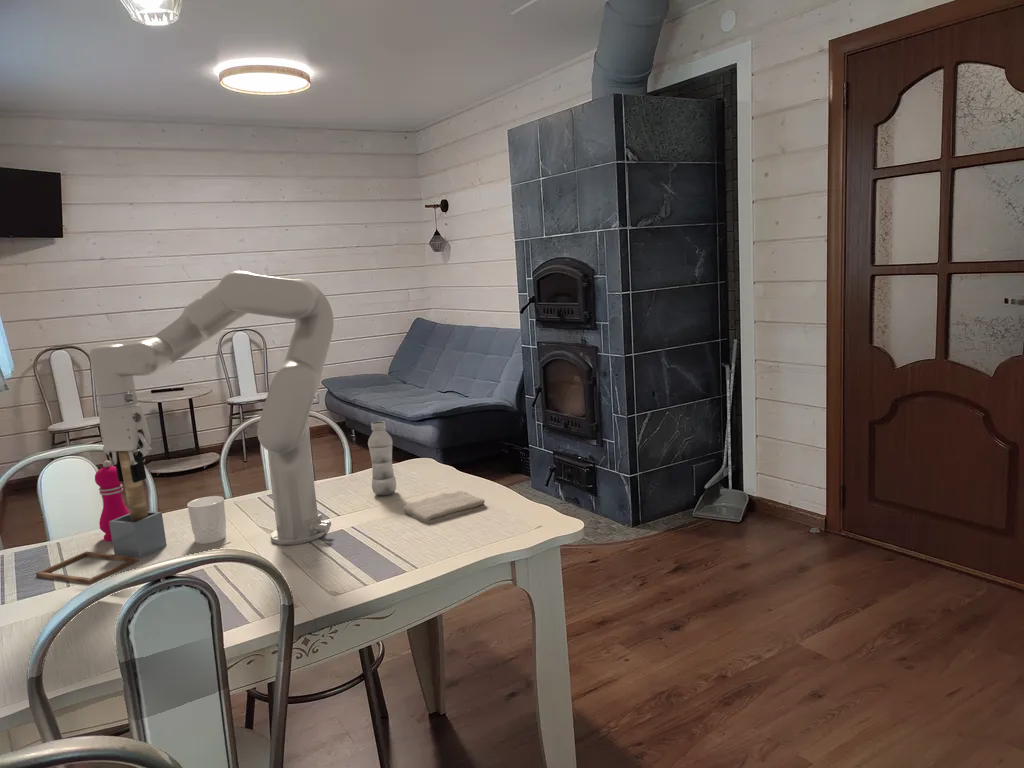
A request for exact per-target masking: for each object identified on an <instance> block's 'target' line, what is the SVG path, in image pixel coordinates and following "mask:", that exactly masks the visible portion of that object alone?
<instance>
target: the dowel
mask: <svg viewBox="0 0 1024 768" xmlns="http://www.w3.org/2000/svg"><path fill="white" fill-rule="evenodd" d="M118 454H119V459H120V464H121V470H122V475H123V480H124V481H123V486H124V491H125V496H126V500H127V506H128V507H127V508H128V510H129V512H130V518H131V521H132V522H136V521H139V520H141V519H143V518H146V517H148V506H147V501H146V500H147V499H146V495H145V490H144V485H143V480H141V481H139V482H133V480H132V475H131V470H130V465H132V463H131V460H130V456H129V453H128V452H118ZM136 455H137V452H136V453H135V456H136Z"/></svg>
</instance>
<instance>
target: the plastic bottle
mask: <svg viewBox="0 0 1024 768" xmlns="http://www.w3.org/2000/svg"><path fill="white" fill-rule="evenodd" d="M370 426H371V431H372V432H371V434H370V436H369V438H368V441H367V445H368V449H369V450H368V451H369V453H370V460H371V466H372V472H371V473H372V477H371V490H372V492H373V493H374V495H378V496H387V495H391V494H393V493H395V492H396V490H397V480H396V477H395V473H394V472H395V471H394V467H393V438H392V436H391V435H390V434H389V433H388V432H387V430H386V429H387V426H386V421H381V420H380V421H379V420H378V421H373V422H371V423H370Z"/></svg>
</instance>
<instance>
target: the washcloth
mask: <svg viewBox="0 0 1024 768" xmlns="http://www.w3.org/2000/svg"><path fill="white" fill-rule="evenodd" d="M484 508H486V505H485V499H484V498H480V497H477V496H475V495H473V494H471V493H468V492H466V491H463V490H457V491H455V492H450V493H447V492H445V493H444V492H442V493H440V494H437V495H434V496H431V497H426V498H423V499H419V500H415V501H413V502H409V503H408V504H406V505H404V506H403V509H402V511H403V512H404V514H406V515H407V516H410V517H412V518H414V519H416V520H417V521H419V522H422V523H423V524H432V523H436V522H440V521H443V520H447V519H451V518H453V517H457V516H460V515H463V514H466V513H469V512H473V511H477V510H478V511H479V510H481V509H484Z"/></svg>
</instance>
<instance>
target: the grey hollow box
mask: <svg viewBox="0 0 1024 768" xmlns="http://www.w3.org/2000/svg"><path fill="white" fill-rule="evenodd" d="M147 511H148V510H147ZM109 525H110V531H111V537H112V541H111V542H112V548H113V553H114V554H113V555H122V556H130V557H138V558H139V559H142V558H143V557H146V556H147V555H149V554H152V553H154V552H156V551H158V550H161V549H162V548H165V547H167V546H168V545H167V538H166V532H165V524H164V518H163V512H162V511H154V510H153V511H150V510H149V511H148V517H146V518H143V519H141V520H139V521H136V522H132V521H131V518H130V513H129V514H126V515H124V516H121V517H119V518H116V519H114V520H111V521H109Z"/></svg>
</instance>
